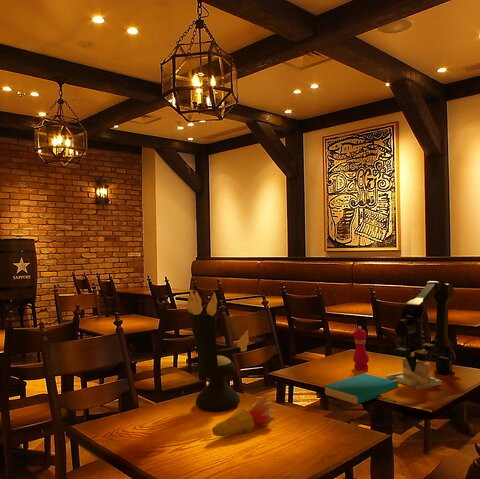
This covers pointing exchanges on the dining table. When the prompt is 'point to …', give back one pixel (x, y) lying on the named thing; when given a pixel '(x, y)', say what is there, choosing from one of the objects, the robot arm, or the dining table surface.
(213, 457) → the dining table surface
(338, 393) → the book
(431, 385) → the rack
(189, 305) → the candelabra
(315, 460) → the dining table surface
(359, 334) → the pepper mill
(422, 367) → the sheet
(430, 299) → the robot arm
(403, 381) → the offcut top
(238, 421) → the torch
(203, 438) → the dining table surface
